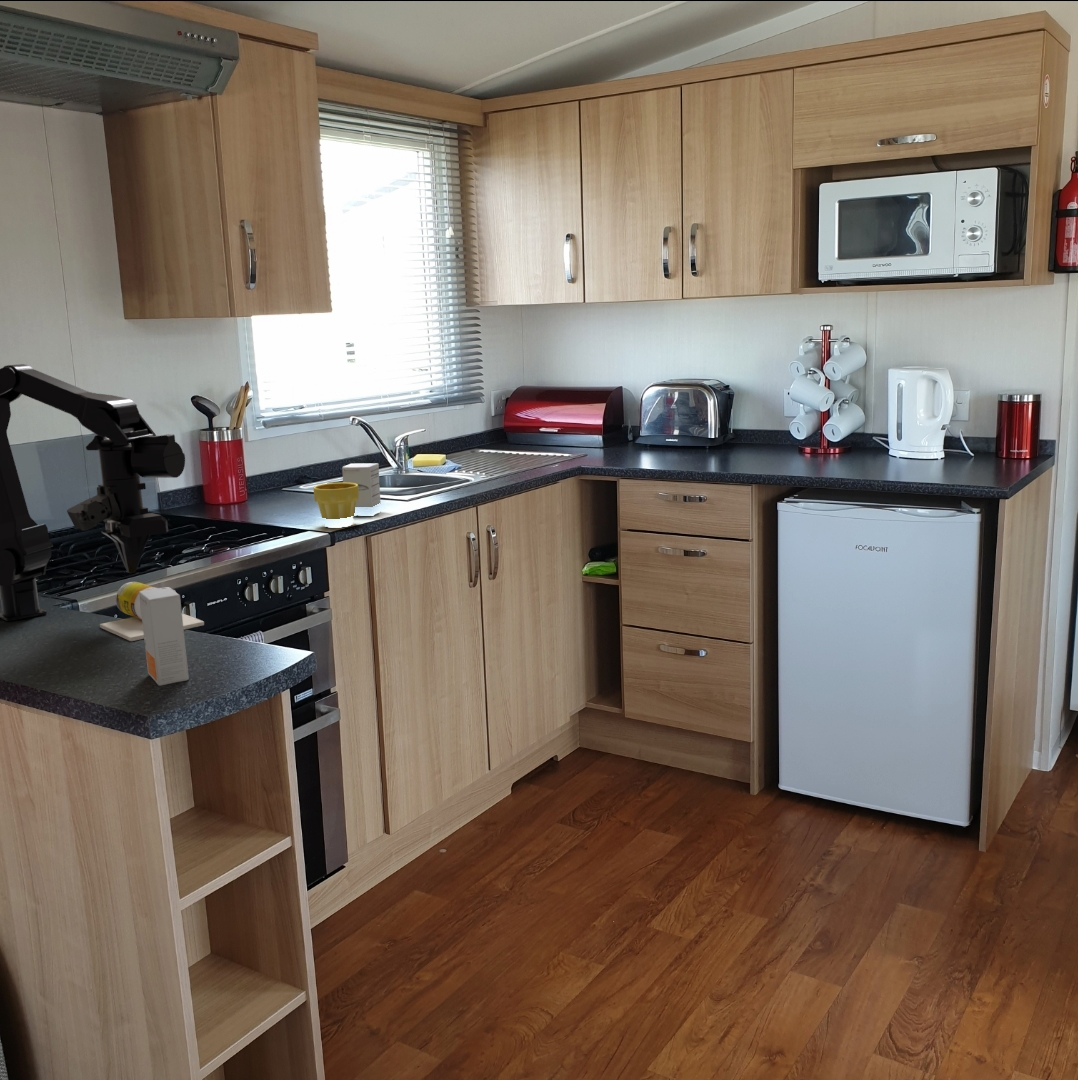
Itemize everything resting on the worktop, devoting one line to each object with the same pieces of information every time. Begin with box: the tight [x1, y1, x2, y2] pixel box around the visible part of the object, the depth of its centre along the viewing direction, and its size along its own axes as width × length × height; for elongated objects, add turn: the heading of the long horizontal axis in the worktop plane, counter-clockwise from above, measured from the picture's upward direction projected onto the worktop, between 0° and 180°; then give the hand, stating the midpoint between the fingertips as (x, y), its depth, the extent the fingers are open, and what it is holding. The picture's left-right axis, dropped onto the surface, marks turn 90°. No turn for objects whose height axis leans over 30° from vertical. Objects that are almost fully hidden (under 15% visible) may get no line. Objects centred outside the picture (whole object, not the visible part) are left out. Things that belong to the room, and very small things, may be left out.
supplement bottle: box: [115, 581, 158, 620], centre depth 179 cm, size 6×6×10 cm
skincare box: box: [139, 586, 190, 686], centre depth 149 cm, size 6×4×12 cm
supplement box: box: [341, 462, 381, 507], centre depth 275 cm, size 7×7×13 cm
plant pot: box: [313, 481, 359, 519], centre depth 260 cm, size 10×10×10 cm
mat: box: [99, 612, 205, 642], centre depth 177 cm, size 12×12×1 cm
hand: (131, 572), depth 180 cm, fingers closed
